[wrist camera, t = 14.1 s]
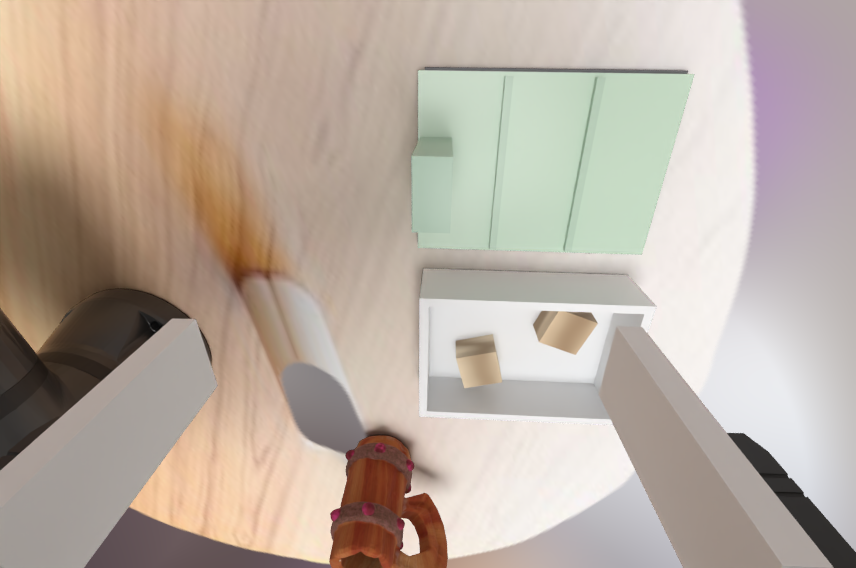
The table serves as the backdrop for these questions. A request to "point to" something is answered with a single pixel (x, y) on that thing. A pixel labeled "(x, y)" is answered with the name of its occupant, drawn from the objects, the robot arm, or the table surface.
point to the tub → (521, 342)
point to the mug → (384, 511)
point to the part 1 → (478, 361)
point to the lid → (542, 158)
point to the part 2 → (564, 329)
